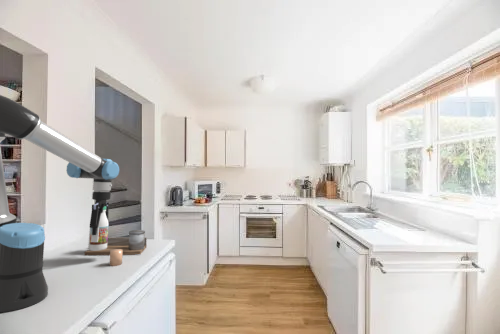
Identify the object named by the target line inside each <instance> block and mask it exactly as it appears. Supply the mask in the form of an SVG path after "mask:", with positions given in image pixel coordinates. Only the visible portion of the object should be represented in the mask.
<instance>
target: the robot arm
mask: <svg viewBox="0 0 500 334" xmlns="http://www.w3.org/2000/svg"><path fill="white" fill-rule="evenodd" d="M6 135H8V136H11V137H13V138H15V139H17V140H26V141H28V142H30V143H32V144H33V145H36V146H37V147H40V148H41V149H43V150H45V151H47V152H49V153H51V154H53V155H55V156H57V157H59V158H60V159H61V160H64V161H66V162H67V163H68V164H67V165H66V174H67V176H69V178H74V179H92V180H93V182H92V190H93V191H92V194H91V195H92V196H91V197H92V198H91V199H92V200H94V201H95V203H94V204H91V214H90V220H89V229H90V228H92V234H91V242H98V235H99V227H98V225H99V221H100V216H101V213H103V208H104V206H106V211H105V213H106V217H107V219H108V220H109V211H110V210H109V209H110V208H109V207H110V202H107V201H108V200H109V201H110V199H111V196H112V195H111V193H112V192H110V191H112V187H113V184H112V180H113V179H115V178H117V177H118V176H119V174H120V165H119V164H118V163H117V162H115V161H113V160H112V159H110V158H103V157H100V156H99V155H97V154H95V153H94V152H92V151H91V150H89V149H87V148H86V147H85V146H83V145H81V144H79V143H78V142H76V141H74V139H71V138H70V137H68V136H67V135H65V134H63V133H61V132H60V131H58V130H57V129H55V128H53V127H52V126H50V125H48V124H47V123H46V122H44V121H42V120H41V117H40V115H39V114H37V113H35V112H34V111H32V110H30V109H29V108H28V107H25V106H24V105H22V104H20V103H19V102H17V101H14V99H11V98H9V97H7V96H5V95H1V94H0V144H1V143H2V141H4V140H5V139H6ZM5 178H6V177H5V170H4V163H3V155H2V148H1V146H0V313H5V312H12V311H16V310H21V309H25V308H28V307H30V306H33V305H35V304H37V303H40V302H41V301H43V300H45V298H47V297H48V295H49V286H48V284H47V280H46V278H45V275H44V273H43V272H44V271H43V269H44V267H43V265H44V253H45V251H44V250H45V249H44V248H45V239H46V236H45V228H44V227H43V226H42V225H40V224H37V223H34V222H33V223H32V222H30V223H29V222H18V221H17V216H16V215H14V214H13V213H12V212H11V213H10V208H9V207H10V206H9V201H8V192H7V191H8V190H7V186H6V185H7V184H6V179H5ZM108 224H109V221H108Z"/></svg>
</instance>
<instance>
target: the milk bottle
mask: <svg viewBox="0 0 500 334" xmlns="http://www.w3.org/2000/svg"><path fill="white" fill-rule="evenodd" d="M105 211H106V206H104V208H103V213H101V216H100V221H99V225H98V227H99V235H98V242H91V234H92V228H90V227H89V231H88V232H89V234H88V244H87V245H88V247H87V248H88V249H87V250H91V251H99V250H104V249H106V248H107V242H108V238H109V227H110V226H109V223H108V222H109V218H108V219H107V217H106V213H105Z"/></svg>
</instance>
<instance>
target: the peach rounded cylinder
mask: <svg viewBox="0 0 500 334" xmlns="http://www.w3.org/2000/svg"><path fill="white" fill-rule="evenodd" d="M122 253H123V250H122V249H114V250H111V251H110V255H109V267H110V266H111V267H117V266H121V265H122V264H123V255H122Z"/></svg>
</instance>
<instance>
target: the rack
mask: <svg viewBox="0 0 500 334" xmlns="http://www.w3.org/2000/svg"><path fill="white" fill-rule="evenodd" d="M145 236H146V230H145V229H134V230H130V231H128V237H108V242H107V248H106V249H104V250H99V251H91V250H89V249H87V250H85V251H84V256H110V251H111V250H114V249H122V250H123V253H122V256H125V255H126V256H128V255H130V256H136V255H135V254H140V255H142V253H143V252H144V251H145V250H146V249H147V247H148V246H147V241H148V240H147V239H148V237H145Z"/></svg>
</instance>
